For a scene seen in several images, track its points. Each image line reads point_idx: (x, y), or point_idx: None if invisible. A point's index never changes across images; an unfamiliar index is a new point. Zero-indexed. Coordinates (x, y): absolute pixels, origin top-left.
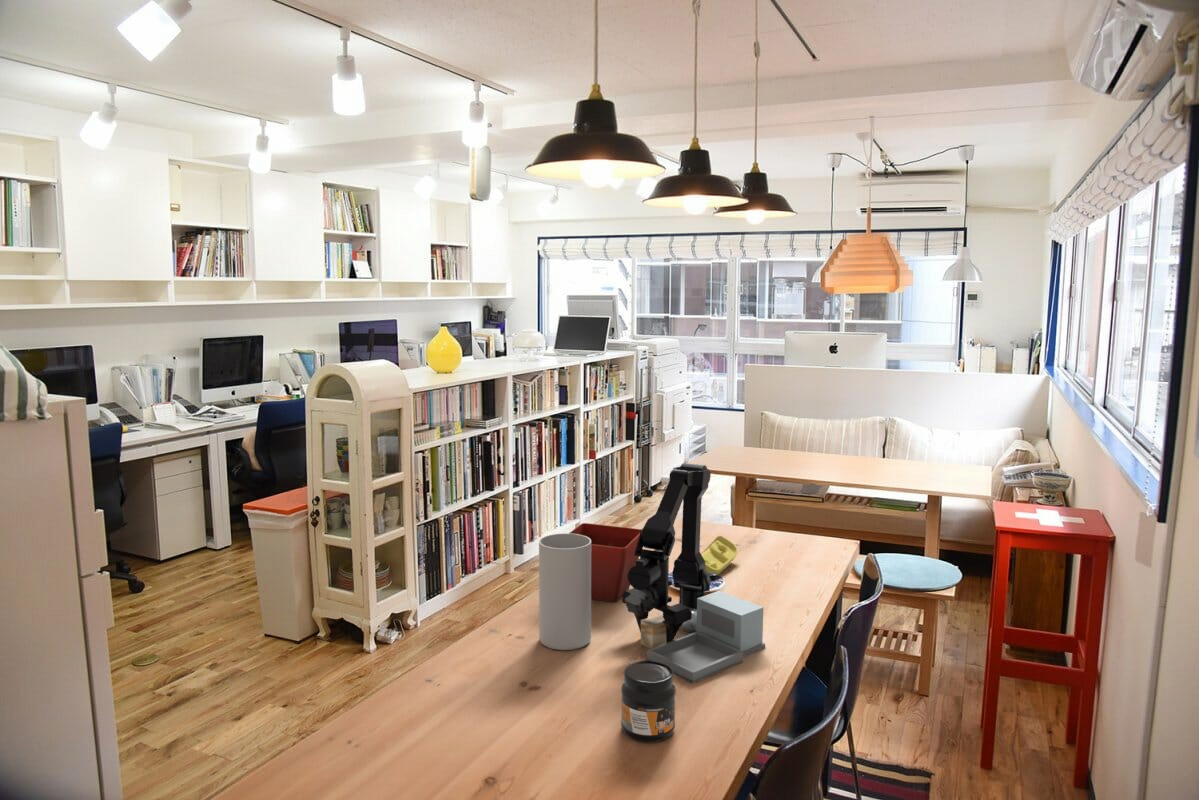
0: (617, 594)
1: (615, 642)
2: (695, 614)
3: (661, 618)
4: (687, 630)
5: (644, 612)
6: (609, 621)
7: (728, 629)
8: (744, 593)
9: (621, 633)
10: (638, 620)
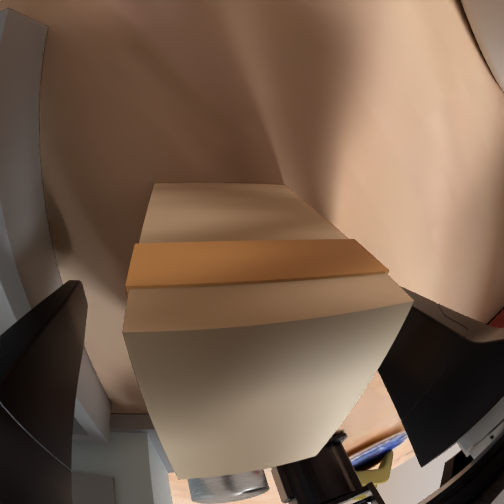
0: None
1: (407, 89)
2: (191, 498)
3: (239, 458)
4: None
5: (422, 392)
6: (482, 253)
7: None
8: (267, 493)
9: (432, 208)
10: (424, 308)
